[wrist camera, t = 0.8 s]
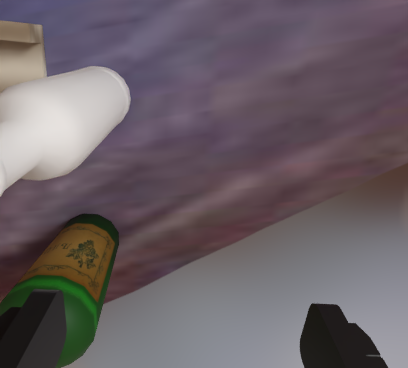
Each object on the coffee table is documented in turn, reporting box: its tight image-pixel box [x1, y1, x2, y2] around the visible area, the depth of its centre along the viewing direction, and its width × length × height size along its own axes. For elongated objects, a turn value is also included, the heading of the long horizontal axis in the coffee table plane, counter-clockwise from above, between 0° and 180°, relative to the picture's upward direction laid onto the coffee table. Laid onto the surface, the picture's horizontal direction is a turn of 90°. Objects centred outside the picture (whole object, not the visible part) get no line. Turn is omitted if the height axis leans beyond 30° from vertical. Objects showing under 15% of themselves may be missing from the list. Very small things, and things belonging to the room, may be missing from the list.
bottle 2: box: [0, 214, 119, 368], centre depth 39 cm, size 11×11×28 cm
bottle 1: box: [0, 66, 131, 197], centre depth 30 cm, size 8×8×30 cm
